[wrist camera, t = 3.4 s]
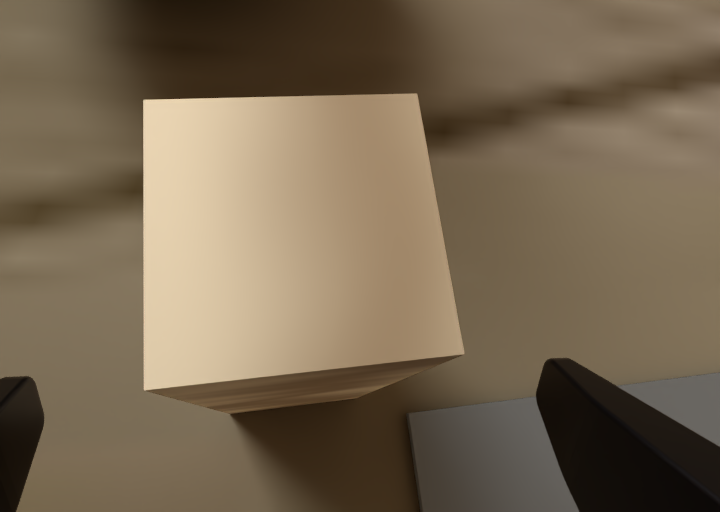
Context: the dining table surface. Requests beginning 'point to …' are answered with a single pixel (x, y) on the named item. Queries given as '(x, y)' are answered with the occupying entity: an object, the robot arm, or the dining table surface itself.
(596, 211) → the dining table surface
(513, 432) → the rubber mat
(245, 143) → the birch block
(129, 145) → the dining table surface
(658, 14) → the dining table surface
